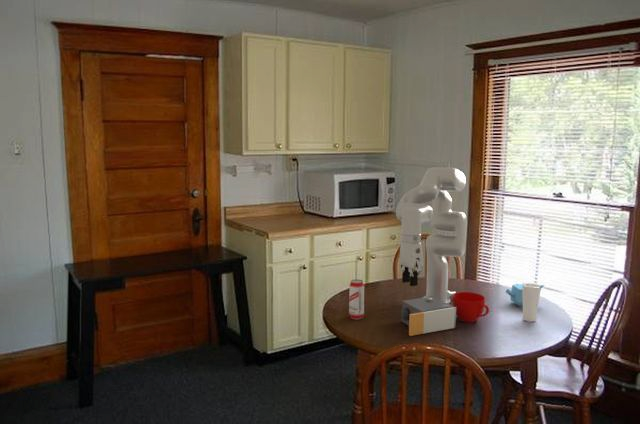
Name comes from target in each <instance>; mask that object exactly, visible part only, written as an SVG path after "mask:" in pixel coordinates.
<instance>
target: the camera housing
mask: <svg viewBox="0 0 640 424" xmlns="http://www.w3.org/2000/svg"><path fill="white" fill-rule="evenodd" d="M423 297H424V296H423ZM423 297H420V298H412V299H407V300H406V299H405V300H402V301H401V302H402V304H401V305H402V307H401V309H400V318H401V322H402V323H403V324H405V325H407V326H408V327H409V314H415V313H421V312H427V311H433V310H439V309H445V308H451V307H453V304H450V303H449V304H448V303H446V302H443V301H441V300H439V299H437V298H435V297H433V296H431V297H424V298H423Z"/></svg>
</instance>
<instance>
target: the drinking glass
mask: <svg viewBox="0 0 640 424" xmlns="http://www.w3.org/2000/svg"><path fill="white" fill-rule="evenodd" d="M525 283H526V282H525ZM522 284H523V283H522ZM540 296H541V291H540V285H539V284H537V283H536V284H535V283H531V282H530V283H529V282H528V283H526V284H523V293H522V297H523V308H522V320H524V321H525V322H528V323H529V322H530V323H531V322H536V321H537V316H538V309H539V303H540Z"/></svg>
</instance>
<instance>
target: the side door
mask: <svg viewBox="0 0 640 424" xmlns="http://www.w3.org/2000/svg"><path fill="white" fill-rule="evenodd" d="M456 322H457V315H456V307H451V308H445V309H439V310H433V311H427V312H421V313H415V314H409V326H408V335H409V336H410V337H413V336H418V335H423V334H428V333H434V332H439V331H445V330H450V329H456V326H457V325H456Z"/></svg>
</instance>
